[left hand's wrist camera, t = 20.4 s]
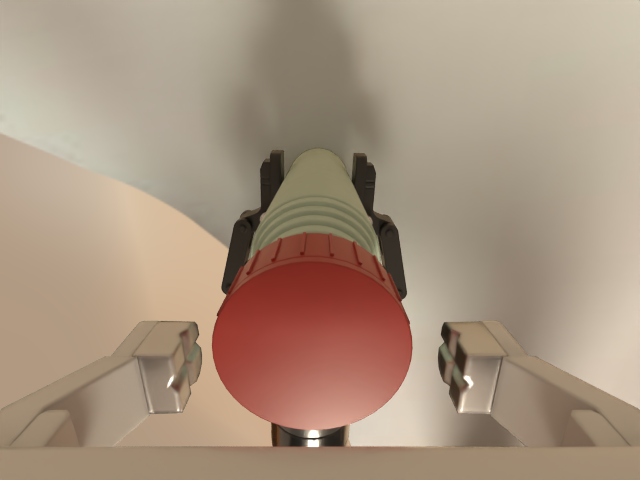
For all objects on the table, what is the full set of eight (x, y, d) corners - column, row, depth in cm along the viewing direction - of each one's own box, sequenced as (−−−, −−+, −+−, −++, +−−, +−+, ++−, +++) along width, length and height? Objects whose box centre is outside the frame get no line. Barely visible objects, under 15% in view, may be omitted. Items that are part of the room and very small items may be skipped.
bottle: (324, 136, 29) (337, 200, 8) (357, 183, 31) (449, 356, 9) (278, 170, 30) (169, 317, 8) (311, 215, 32) (293, 442, 10)
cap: (361, 395, 11) (369, 451, 9) (212, 352, 10) (189, 403, 9) (425, 263, 9) (450, 298, 8) (255, 206, 9) (239, 229, 7)
